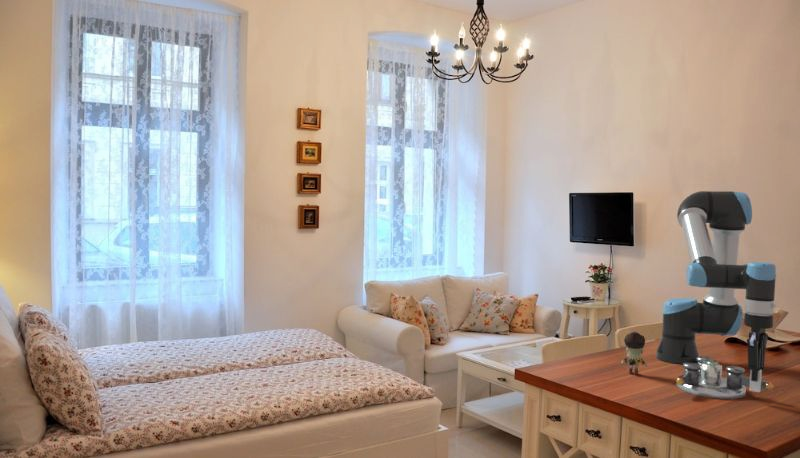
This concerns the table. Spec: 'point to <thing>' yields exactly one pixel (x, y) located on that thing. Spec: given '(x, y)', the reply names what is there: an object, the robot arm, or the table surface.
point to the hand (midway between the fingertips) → (754, 390)
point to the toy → (634, 350)
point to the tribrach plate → (714, 390)
